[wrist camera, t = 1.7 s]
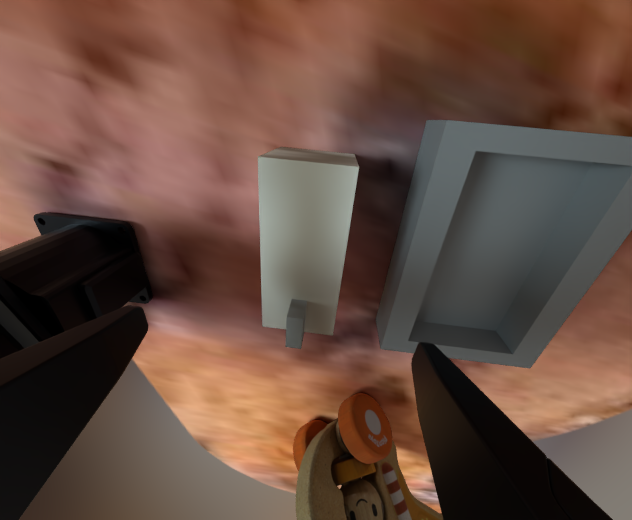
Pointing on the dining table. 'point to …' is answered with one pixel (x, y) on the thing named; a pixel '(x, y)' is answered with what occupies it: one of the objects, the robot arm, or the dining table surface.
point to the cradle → (502, 238)
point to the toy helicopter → (353, 468)
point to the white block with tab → (303, 237)
